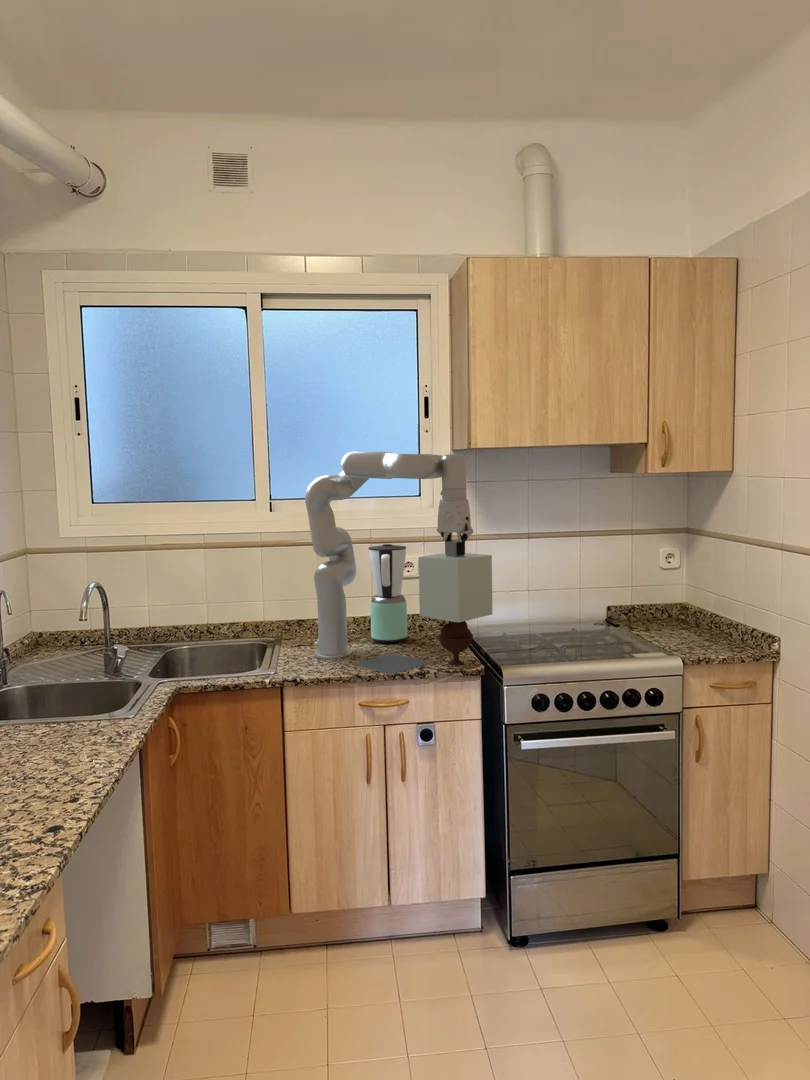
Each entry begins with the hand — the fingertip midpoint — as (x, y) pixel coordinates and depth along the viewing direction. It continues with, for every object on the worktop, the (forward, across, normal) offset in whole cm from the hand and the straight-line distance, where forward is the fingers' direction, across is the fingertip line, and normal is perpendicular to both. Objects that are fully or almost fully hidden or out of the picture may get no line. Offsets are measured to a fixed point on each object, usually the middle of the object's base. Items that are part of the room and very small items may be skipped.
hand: (455, 553), depth 227 cm
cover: (+19, 0, 0) cm, 19 cm away
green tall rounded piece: (+35, -39, +8) cm, 53 cm away
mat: (+35, -16, -13) cm, 41 cm away
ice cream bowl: (+35, 0, 0) cm, 35 cm away
